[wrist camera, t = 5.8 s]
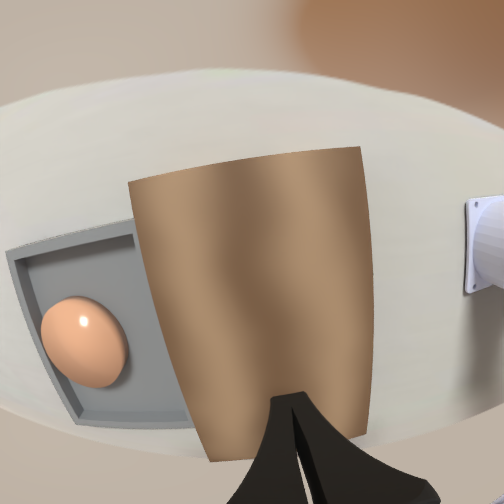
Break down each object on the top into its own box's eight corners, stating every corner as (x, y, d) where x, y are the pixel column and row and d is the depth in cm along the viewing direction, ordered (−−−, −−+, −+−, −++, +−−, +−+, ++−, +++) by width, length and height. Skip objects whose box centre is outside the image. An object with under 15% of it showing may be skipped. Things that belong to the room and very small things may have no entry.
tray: (150, 214, 18) (142, 217, 17) (203, 412, 22) (201, 427, 20) (18, 246, 18) (5, 251, 16) (82, 413, 21) (75, 424, 20)
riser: (335, 153, 18) (360, 146, 14) (350, 403, 22) (366, 433, 18) (149, 182, 18) (127, 182, 14) (212, 428, 22) (210, 462, 18)
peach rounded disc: (30, 303, 17) (41, 296, 19) (58, 383, 19) (67, 373, 20) (106, 301, 17) (115, 293, 19) (132, 390, 19) (138, 378, 20)
